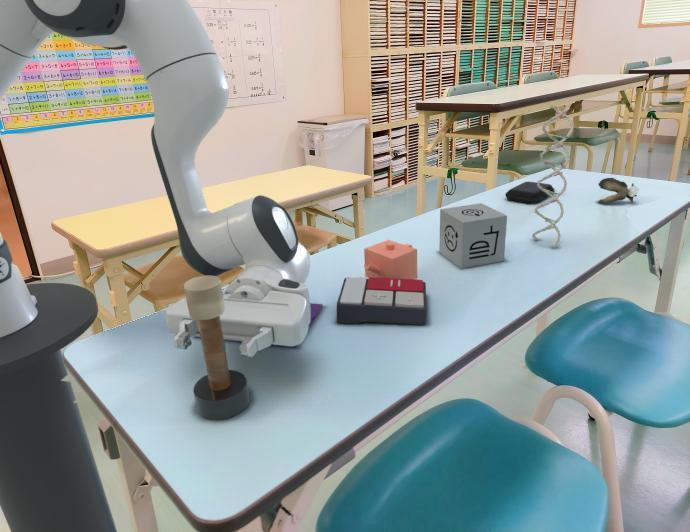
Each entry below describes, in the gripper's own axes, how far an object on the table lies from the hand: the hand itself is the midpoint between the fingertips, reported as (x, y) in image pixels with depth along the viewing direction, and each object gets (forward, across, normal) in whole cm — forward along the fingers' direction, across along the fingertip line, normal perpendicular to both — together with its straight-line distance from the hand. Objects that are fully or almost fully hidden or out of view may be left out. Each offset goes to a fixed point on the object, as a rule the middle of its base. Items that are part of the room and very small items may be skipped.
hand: (211, 348), depth 66 cm
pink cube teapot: (-42, +15, +9) cm, 45 cm away
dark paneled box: (-30, +16, +9) cm, 36 cm away
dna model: (-68, +46, +9) cm, 82 cm away
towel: (-22, -4, +9) cm, 25 cm away
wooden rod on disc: (0, 0, +9) cm, 9 cm away
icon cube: (-58, +30, +9) cm, 66 cm away
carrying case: (-106, +45, +9) cm, 115 cm away
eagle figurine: (-102, +67, +9) cm, 123 cm away
